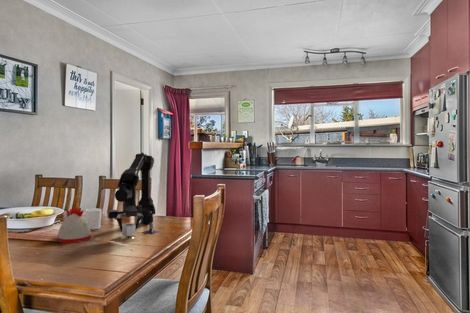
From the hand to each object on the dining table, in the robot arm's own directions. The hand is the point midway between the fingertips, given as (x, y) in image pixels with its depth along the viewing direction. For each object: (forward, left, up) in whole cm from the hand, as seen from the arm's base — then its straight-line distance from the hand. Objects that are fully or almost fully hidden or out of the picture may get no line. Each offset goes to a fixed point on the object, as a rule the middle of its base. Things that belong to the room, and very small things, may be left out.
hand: (128, 230), depth 144 cm
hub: (0, 0, -4) cm, 4 cm away
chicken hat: (-22, -12, -4) cm, 25 cm away
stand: (+3, +12, -4) cm, 13 cm away
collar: (0, 0, -2) cm, 2 cm away
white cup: (-30, +5, -4) cm, 31 cm away
